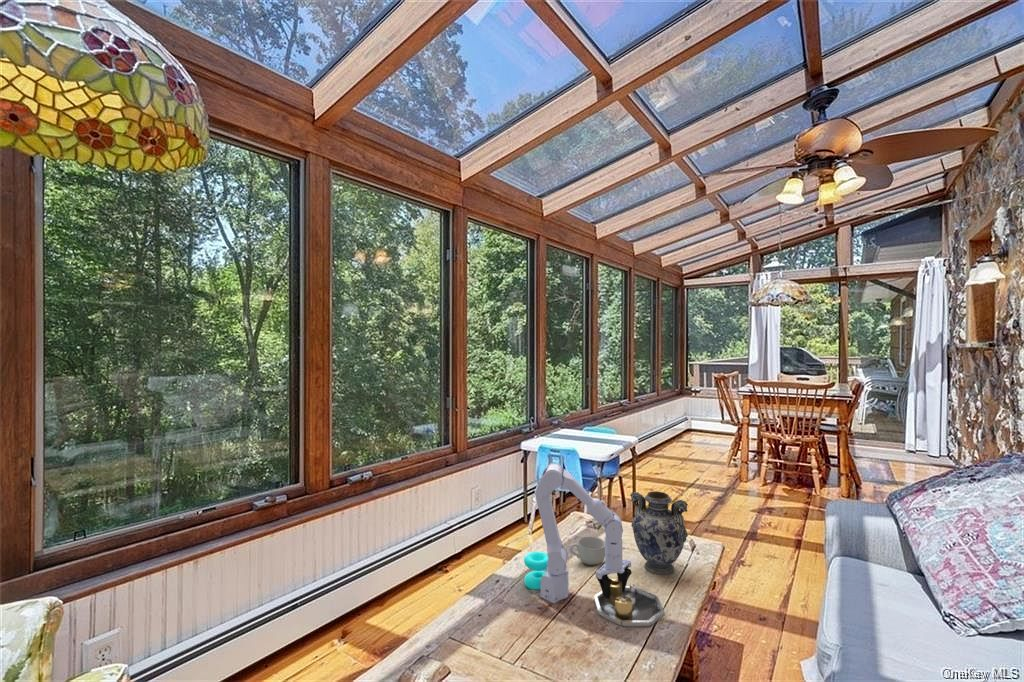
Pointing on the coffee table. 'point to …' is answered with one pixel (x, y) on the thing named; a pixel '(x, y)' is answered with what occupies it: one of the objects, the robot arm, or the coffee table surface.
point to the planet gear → (615, 590)
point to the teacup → (590, 550)
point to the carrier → (630, 607)
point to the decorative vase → (659, 530)
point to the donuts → (538, 564)
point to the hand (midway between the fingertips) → (614, 593)
